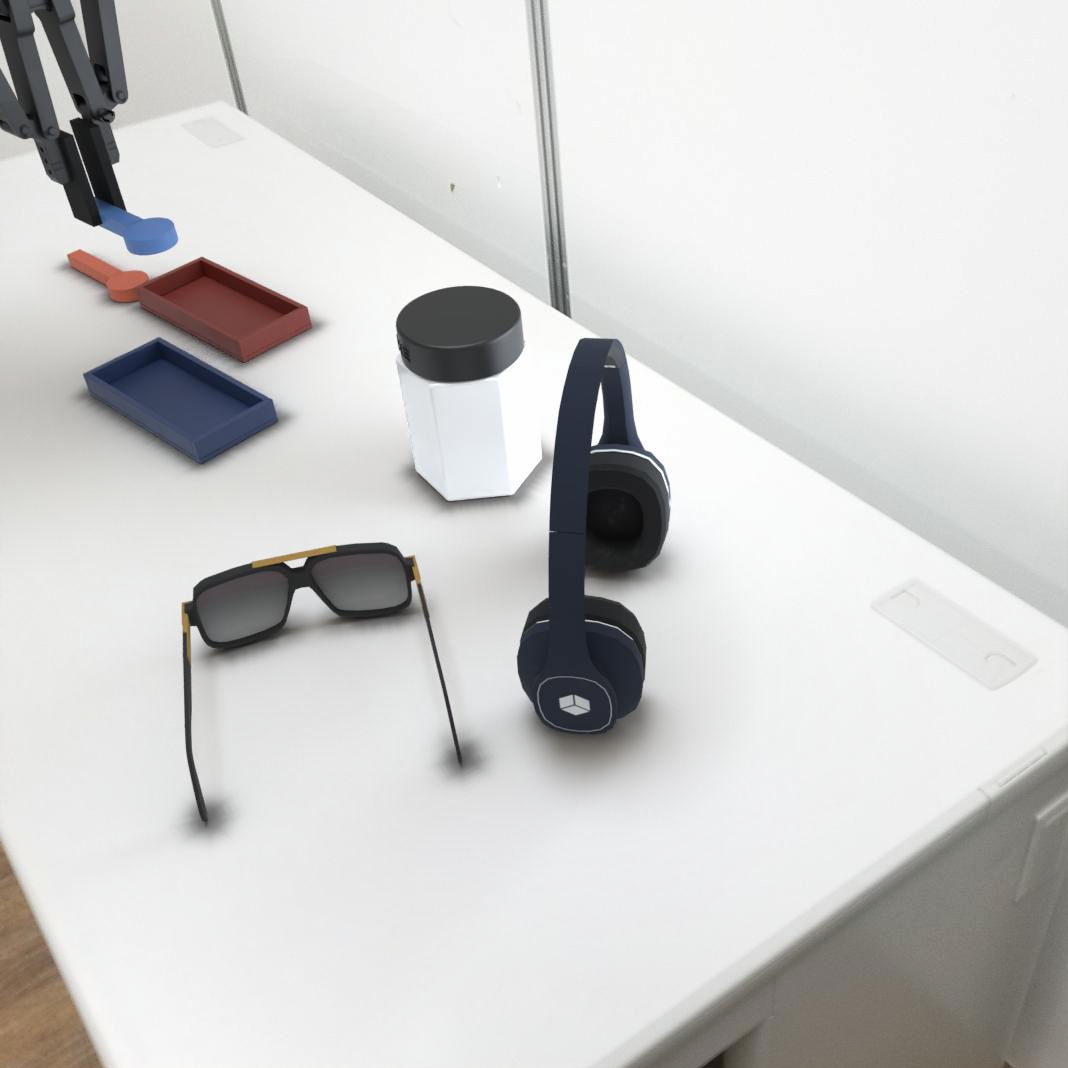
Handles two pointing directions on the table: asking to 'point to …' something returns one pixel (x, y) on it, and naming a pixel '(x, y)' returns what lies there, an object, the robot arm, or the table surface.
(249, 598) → the sunglasses
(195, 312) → the red tray
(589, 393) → the headphones
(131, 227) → the blue spoon
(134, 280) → the red spoon
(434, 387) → the jar
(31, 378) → the table surface
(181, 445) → the blue tray
